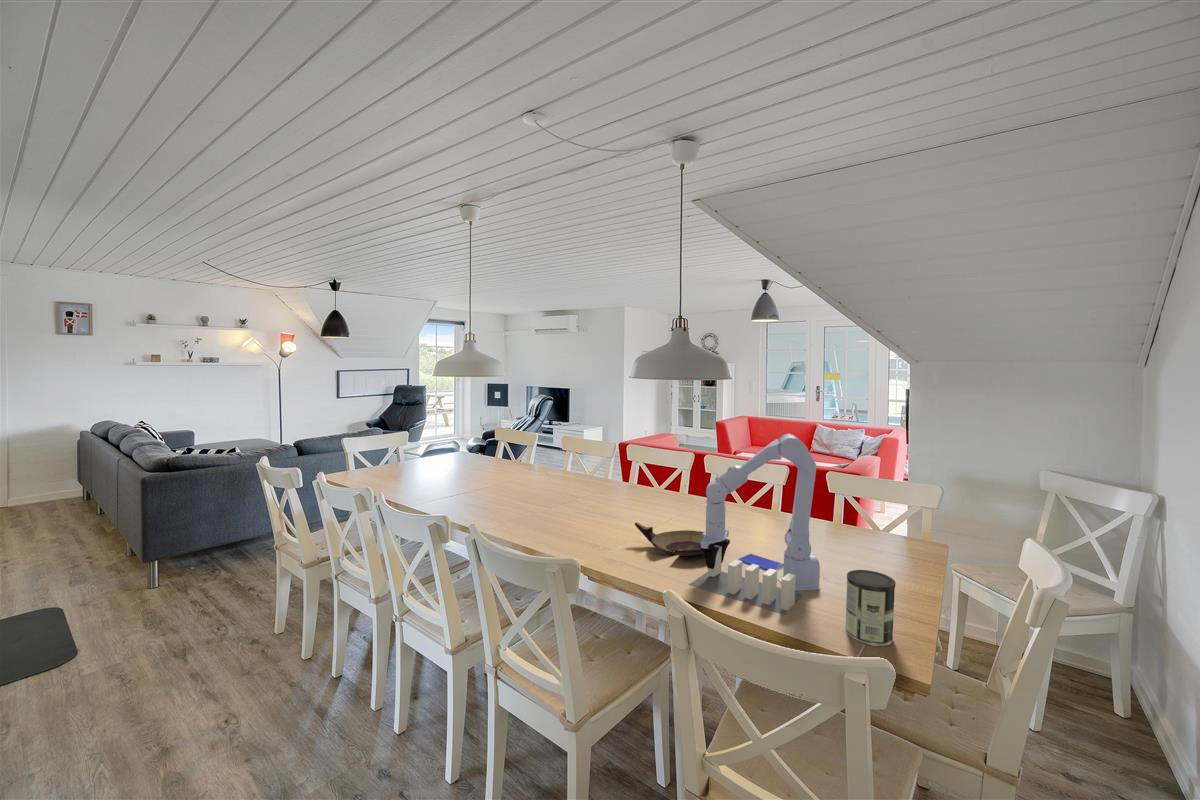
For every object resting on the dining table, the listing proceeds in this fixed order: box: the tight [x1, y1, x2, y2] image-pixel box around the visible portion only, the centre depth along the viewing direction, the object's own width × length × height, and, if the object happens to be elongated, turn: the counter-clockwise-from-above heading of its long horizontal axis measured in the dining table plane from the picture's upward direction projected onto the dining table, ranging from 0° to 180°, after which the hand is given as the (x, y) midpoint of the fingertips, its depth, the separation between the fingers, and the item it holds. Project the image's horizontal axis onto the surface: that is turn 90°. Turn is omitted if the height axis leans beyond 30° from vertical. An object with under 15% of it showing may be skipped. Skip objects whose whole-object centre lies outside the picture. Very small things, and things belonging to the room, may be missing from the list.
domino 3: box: [744, 564, 760, 600], centre depth 143 cm, size 2×5×8 cm, turn 141°
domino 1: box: [707, 545, 722, 577], centre depth 156 cm, size 2×5×8 cm, turn 141°
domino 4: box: [762, 569, 778, 605], centre depth 140 cm, size 2×5×8 cm, turn 141°
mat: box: [688, 570, 804, 615], centre depth 147 cm, size 28×15×1 cm, turn 51°
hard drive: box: [737, 553, 784, 572], centre depth 166 cm, size 2×8×12 cm
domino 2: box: [727, 559, 743, 594], centre depth 146 cm, size 2×5×8 cm, turn 141°
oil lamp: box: [634, 522, 705, 557], centre depth 178 cm, size 22×30×8 cm
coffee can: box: [845, 569, 896, 647], centre depth 123 cm, size 10×10×14 cm
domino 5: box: [780, 573, 796, 612], centre depth 137 cm, size 2×5×8 cm, turn 141°
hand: (714, 565), depth 156 cm, fingers closed on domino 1, 5 cm apart
